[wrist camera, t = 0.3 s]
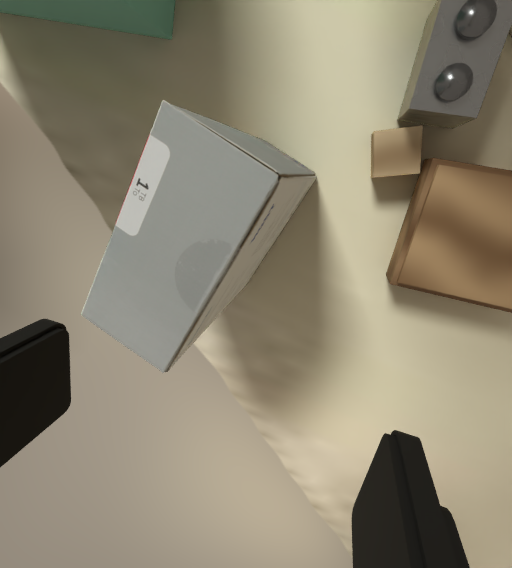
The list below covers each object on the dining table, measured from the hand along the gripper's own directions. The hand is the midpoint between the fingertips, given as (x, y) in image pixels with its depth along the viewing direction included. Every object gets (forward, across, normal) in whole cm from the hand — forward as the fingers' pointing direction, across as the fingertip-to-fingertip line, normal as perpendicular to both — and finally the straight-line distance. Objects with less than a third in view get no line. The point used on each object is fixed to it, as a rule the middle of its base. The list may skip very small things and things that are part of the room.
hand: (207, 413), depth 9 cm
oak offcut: (+30, -6, -10) cm, 32 cm away
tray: (+30, -15, -4) cm, 34 cm away
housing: (+30, -8, -17) cm, 35 cm away
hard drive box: (+30, +7, -1) cm, 31 cm away
